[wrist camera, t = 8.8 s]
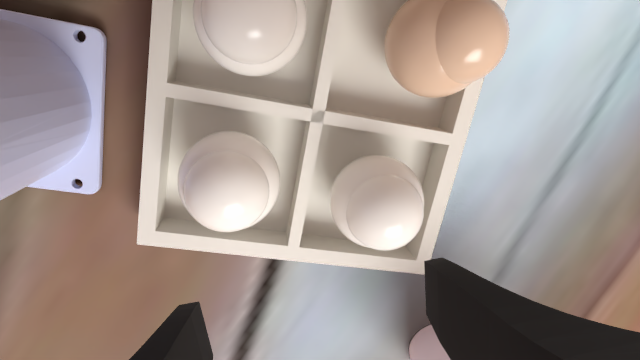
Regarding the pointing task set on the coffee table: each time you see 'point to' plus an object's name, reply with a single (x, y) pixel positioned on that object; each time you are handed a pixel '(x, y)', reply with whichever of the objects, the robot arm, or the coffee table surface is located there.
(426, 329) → the smoothie
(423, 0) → the brown egg
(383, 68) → the carton
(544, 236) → the coffee table surface
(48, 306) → the coffee table surface
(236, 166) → the white eggs
